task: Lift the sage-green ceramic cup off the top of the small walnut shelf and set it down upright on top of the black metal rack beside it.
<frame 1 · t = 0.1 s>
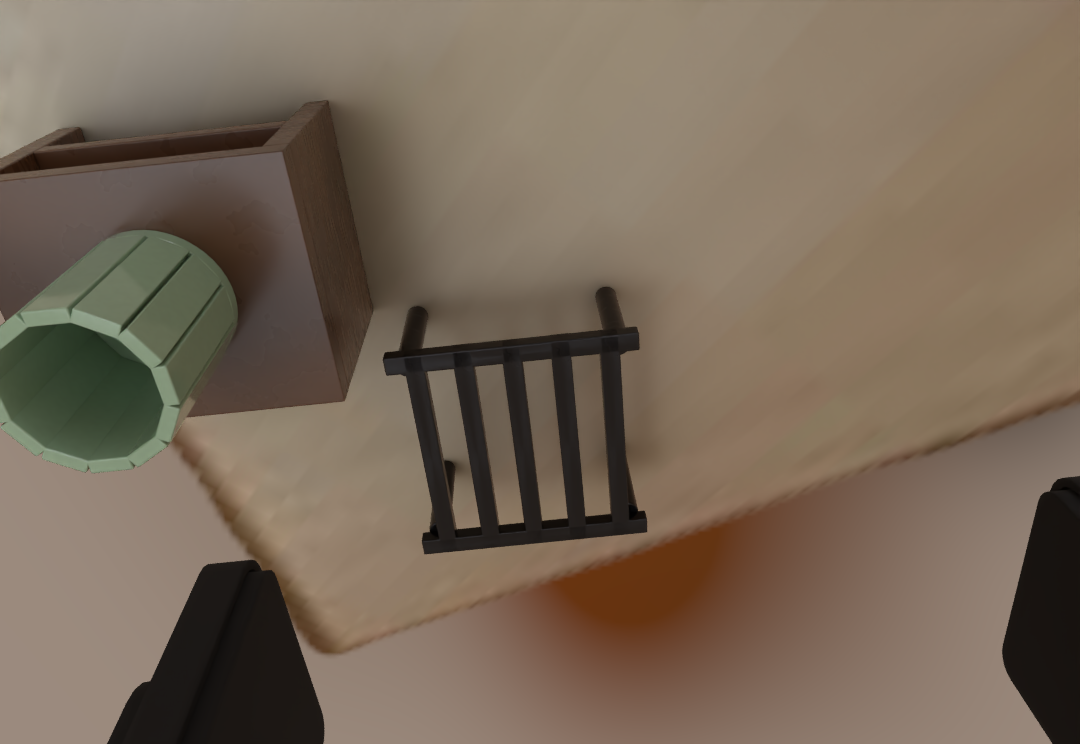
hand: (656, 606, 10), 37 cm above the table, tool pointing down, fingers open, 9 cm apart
cup: (159, 302, 37), point 10 cm above the table, touching shelf
rack: (521, 386, 51), on the table
shelf: (225, 226, 46), on the table
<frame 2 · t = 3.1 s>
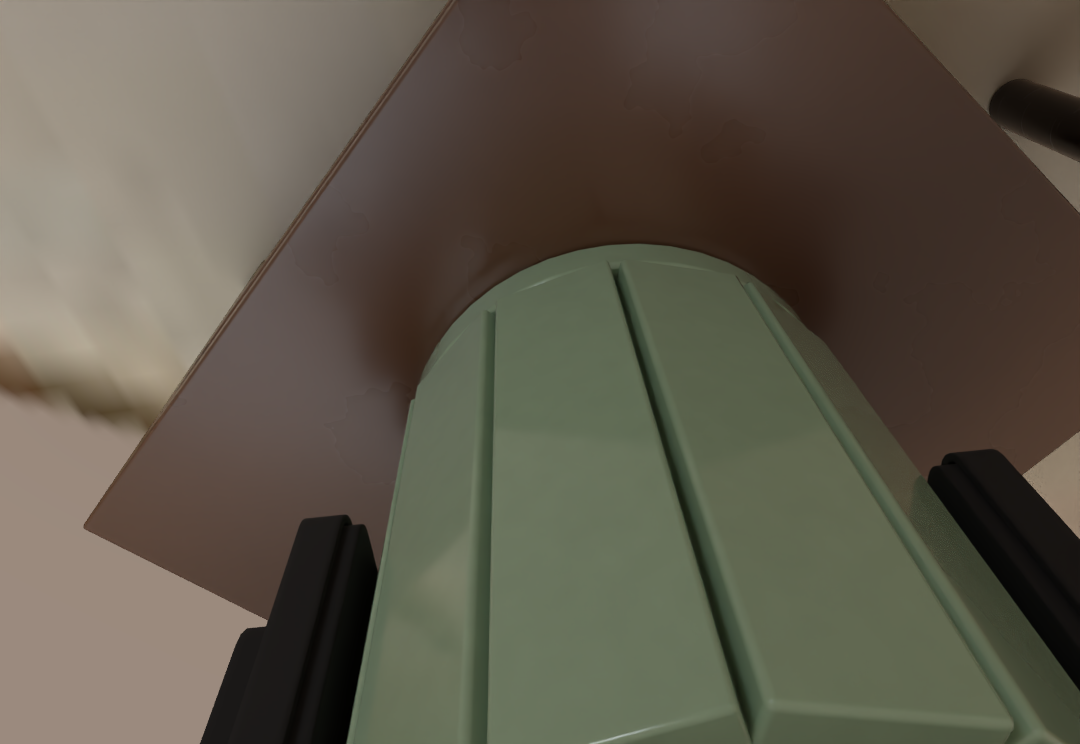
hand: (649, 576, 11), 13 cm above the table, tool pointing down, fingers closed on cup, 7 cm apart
cup: (620, 438, 14), point 10 cm above the table, touching gripper, shelf
shelf: (574, 230, 22), on the table
when the fingers open (10 cm above the table, at t = 10.9 s): cup stays where it is, resting on rack.
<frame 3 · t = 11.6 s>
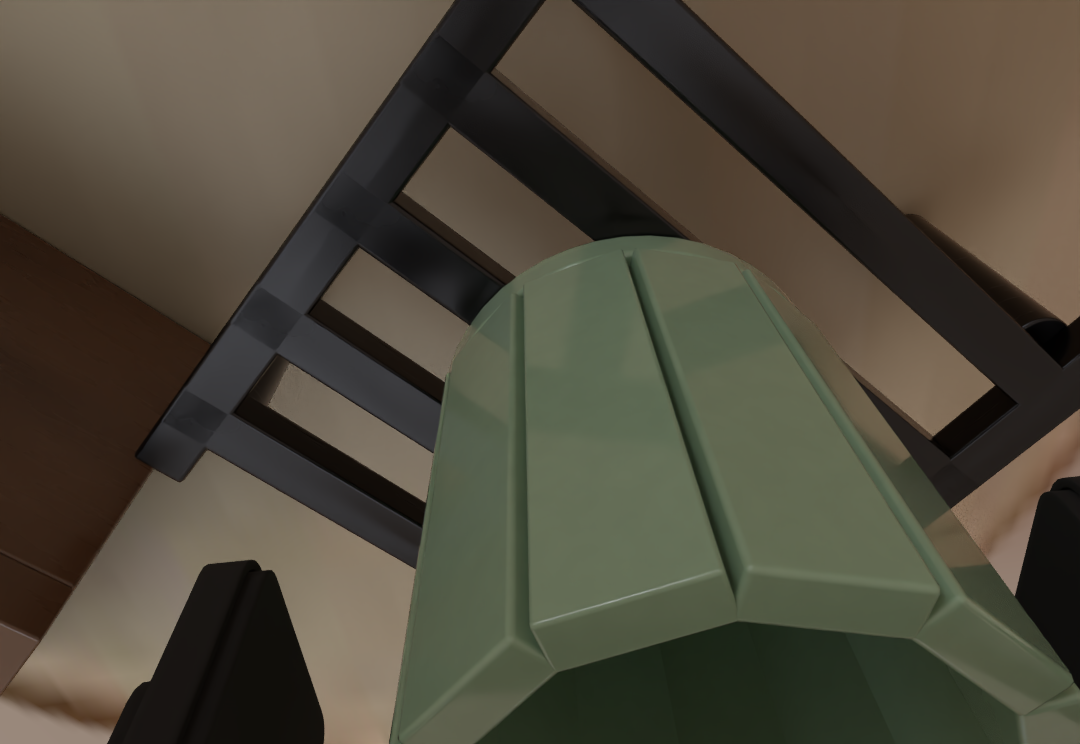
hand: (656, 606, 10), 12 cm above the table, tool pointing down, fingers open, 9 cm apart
cup: (631, 413, 15), point 7 cm above the table, touching rack
rack: (597, 267, 21), on the table
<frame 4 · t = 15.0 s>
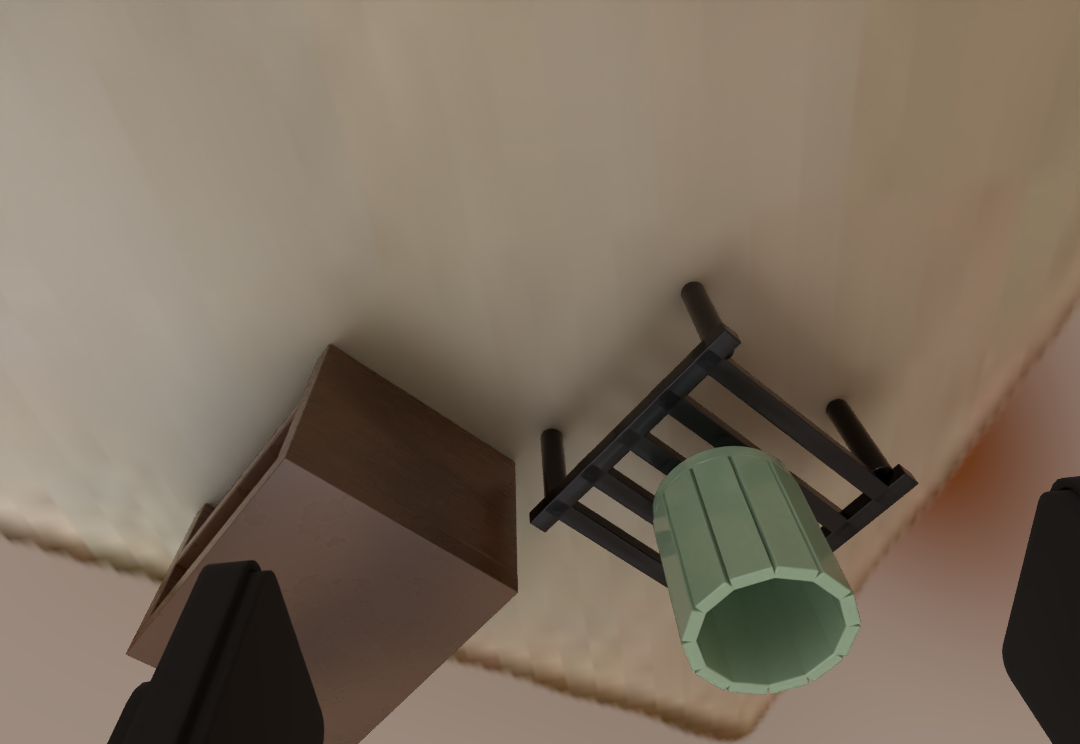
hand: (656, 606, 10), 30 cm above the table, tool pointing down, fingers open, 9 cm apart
cup: (723, 504, 39), point 7 cm above the table, touching rack
rack: (693, 423, 45), on the table
shelf: (353, 489, 47), on the table
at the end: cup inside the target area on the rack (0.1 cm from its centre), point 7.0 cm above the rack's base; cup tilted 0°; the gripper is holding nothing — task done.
